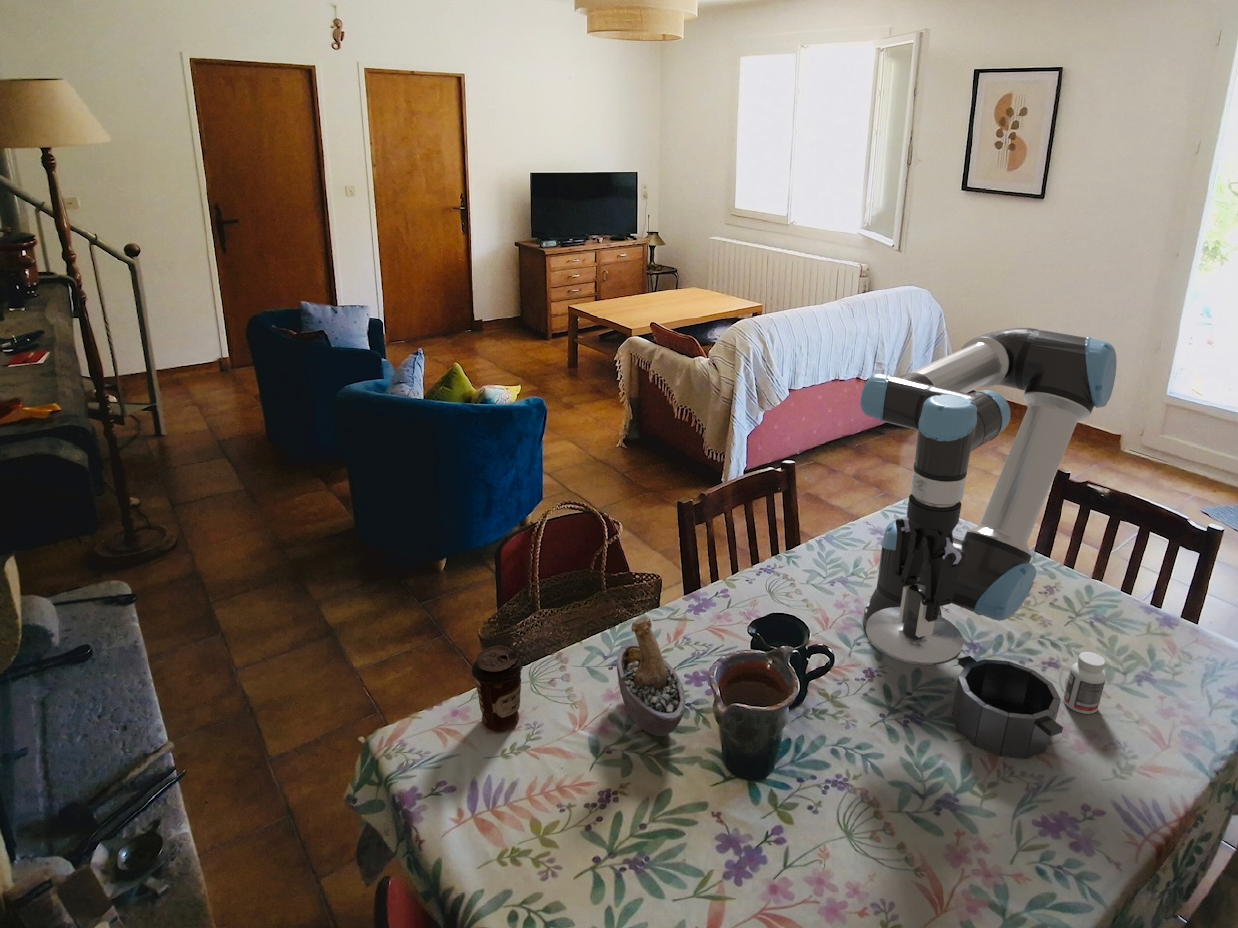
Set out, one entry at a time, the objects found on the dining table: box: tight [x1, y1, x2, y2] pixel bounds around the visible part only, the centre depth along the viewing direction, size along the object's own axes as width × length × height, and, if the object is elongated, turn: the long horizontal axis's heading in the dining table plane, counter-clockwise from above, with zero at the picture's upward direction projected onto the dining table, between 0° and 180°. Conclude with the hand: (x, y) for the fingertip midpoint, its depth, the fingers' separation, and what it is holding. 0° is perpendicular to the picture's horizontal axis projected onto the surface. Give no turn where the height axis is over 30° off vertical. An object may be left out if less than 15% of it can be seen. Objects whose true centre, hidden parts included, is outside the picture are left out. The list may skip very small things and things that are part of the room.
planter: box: [616, 616, 687, 737], centre depth 140 cm, size 15×17×20 cm
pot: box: [951, 655, 1064, 760], centre depth 140 cm, size 20×15×8 cm
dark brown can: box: [471, 644, 524, 734], centre depth 141 cm, size 9×8×13 cm
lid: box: [865, 584, 964, 666], centre depth 136 cm, size 15×15×10 cm
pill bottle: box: [1063, 651, 1107, 715], centre depth 145 cm, size 5×5×10 cm
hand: (915, 626), depth 137 cm, fingers closed on lid, 4 cm apart
